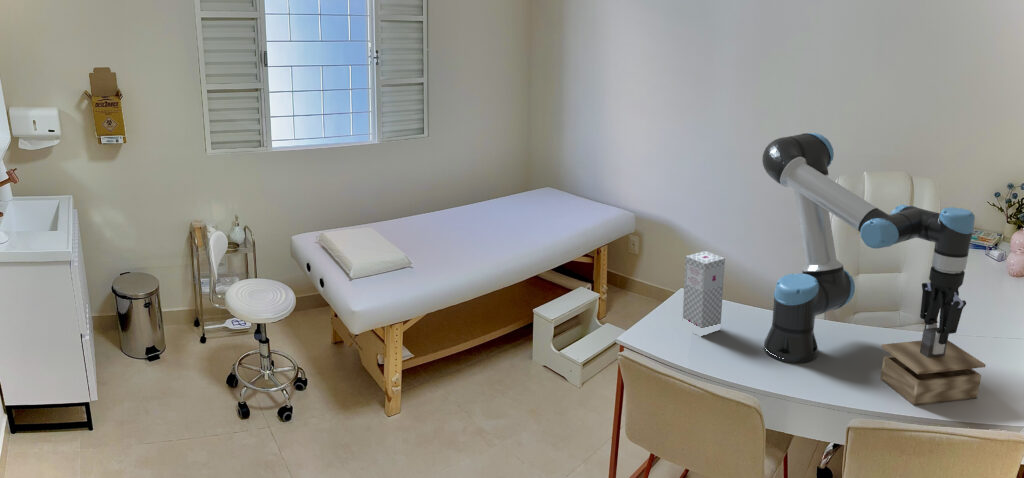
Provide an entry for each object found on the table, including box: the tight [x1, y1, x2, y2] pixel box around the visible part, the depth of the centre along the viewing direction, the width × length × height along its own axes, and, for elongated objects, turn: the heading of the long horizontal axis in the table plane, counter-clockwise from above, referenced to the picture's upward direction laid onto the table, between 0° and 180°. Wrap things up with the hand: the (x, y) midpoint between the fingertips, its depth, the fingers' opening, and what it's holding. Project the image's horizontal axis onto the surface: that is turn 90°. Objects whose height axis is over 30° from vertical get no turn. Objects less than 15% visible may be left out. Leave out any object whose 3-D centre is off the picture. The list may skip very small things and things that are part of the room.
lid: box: [880, 327, 987, 374], centre depth 190 cm, size 19×15×8 cm
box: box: [682, 250, 726, 328], centre depth 228 cm, size 8×8×25 cm
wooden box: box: [880, 355, 982, 406], centre depth 192 cm, size 18×14×7 cm
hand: (932, 349), depth 190 cm, fingers closed on lid, 3 cm apart
